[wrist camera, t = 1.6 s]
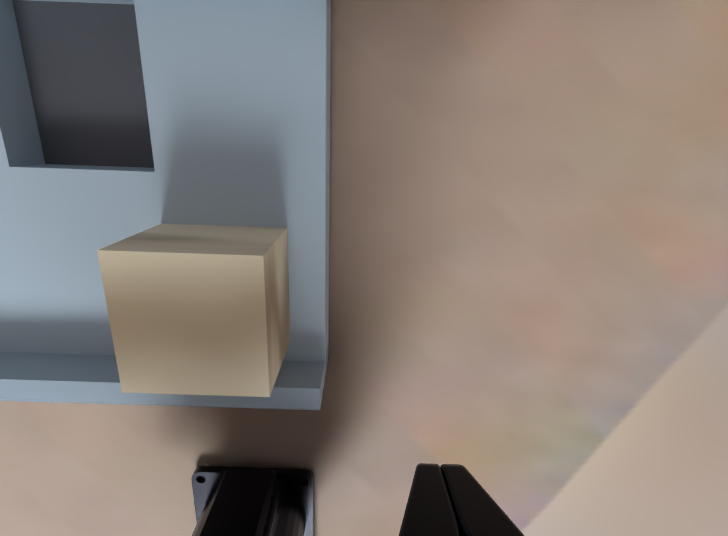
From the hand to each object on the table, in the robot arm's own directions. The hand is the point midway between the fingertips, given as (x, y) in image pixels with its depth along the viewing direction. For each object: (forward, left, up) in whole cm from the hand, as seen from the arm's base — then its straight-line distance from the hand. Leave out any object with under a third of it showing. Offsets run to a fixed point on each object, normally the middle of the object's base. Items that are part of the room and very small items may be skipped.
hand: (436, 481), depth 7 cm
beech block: (0, +7, -10) cm, 12 cm away
